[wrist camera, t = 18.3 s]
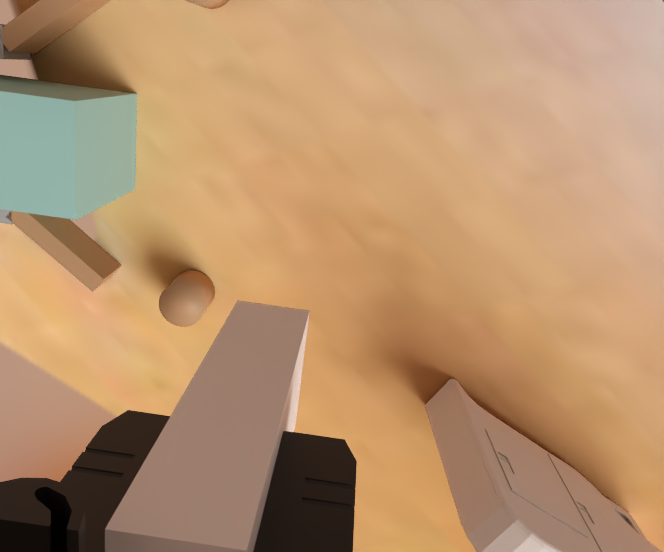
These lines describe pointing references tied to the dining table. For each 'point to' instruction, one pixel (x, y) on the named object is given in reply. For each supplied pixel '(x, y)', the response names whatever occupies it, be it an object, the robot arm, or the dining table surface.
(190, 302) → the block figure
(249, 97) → the dining table surface
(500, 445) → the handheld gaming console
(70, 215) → the pale green block
